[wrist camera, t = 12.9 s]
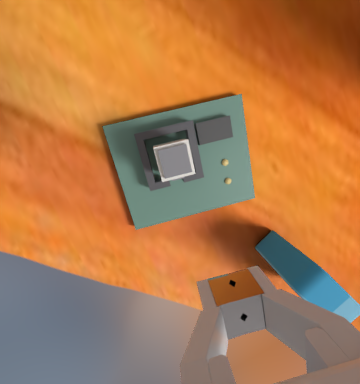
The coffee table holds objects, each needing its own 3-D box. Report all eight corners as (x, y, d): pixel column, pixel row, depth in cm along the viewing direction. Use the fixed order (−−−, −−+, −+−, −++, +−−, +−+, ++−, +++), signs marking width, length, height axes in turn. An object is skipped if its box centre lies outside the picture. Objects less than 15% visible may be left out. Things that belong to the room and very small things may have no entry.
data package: (306, 262, 39) (369, 314, 28) (289, 278, 40) (344, 335, 28) (269, 227, 36) (323, 268, 24) (251, 244, 36) (296, 293, 25)
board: (238, 95, 29) (247, 90, 26) (251, 196, 34) (261, 201, 31) (104, 126, 28) (98, 125, 25) (136, 226, 33) (134, 235, 30)
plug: (180, 139, 29) (188, 139, 22) (187, 169, 30) (197, 178, 23) (153, 145, 29) (153, 147, 21) (161, 175, 30) (163, 187, 23)
